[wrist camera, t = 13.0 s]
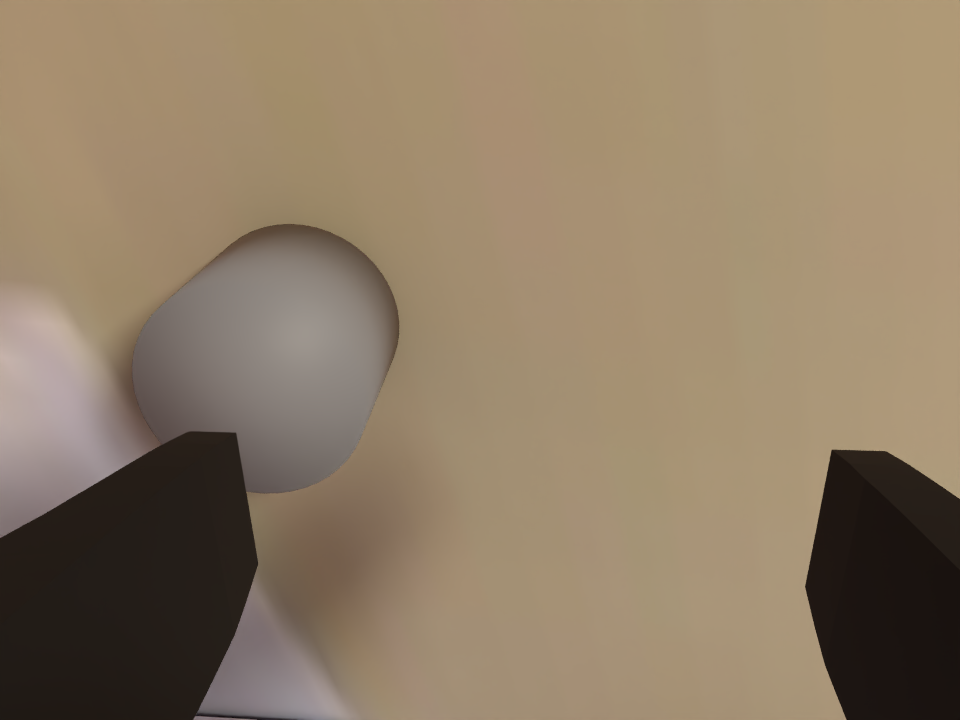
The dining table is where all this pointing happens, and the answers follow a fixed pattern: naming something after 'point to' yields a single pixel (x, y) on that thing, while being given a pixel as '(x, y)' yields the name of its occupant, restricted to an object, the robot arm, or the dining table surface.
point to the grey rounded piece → (272, 354)
